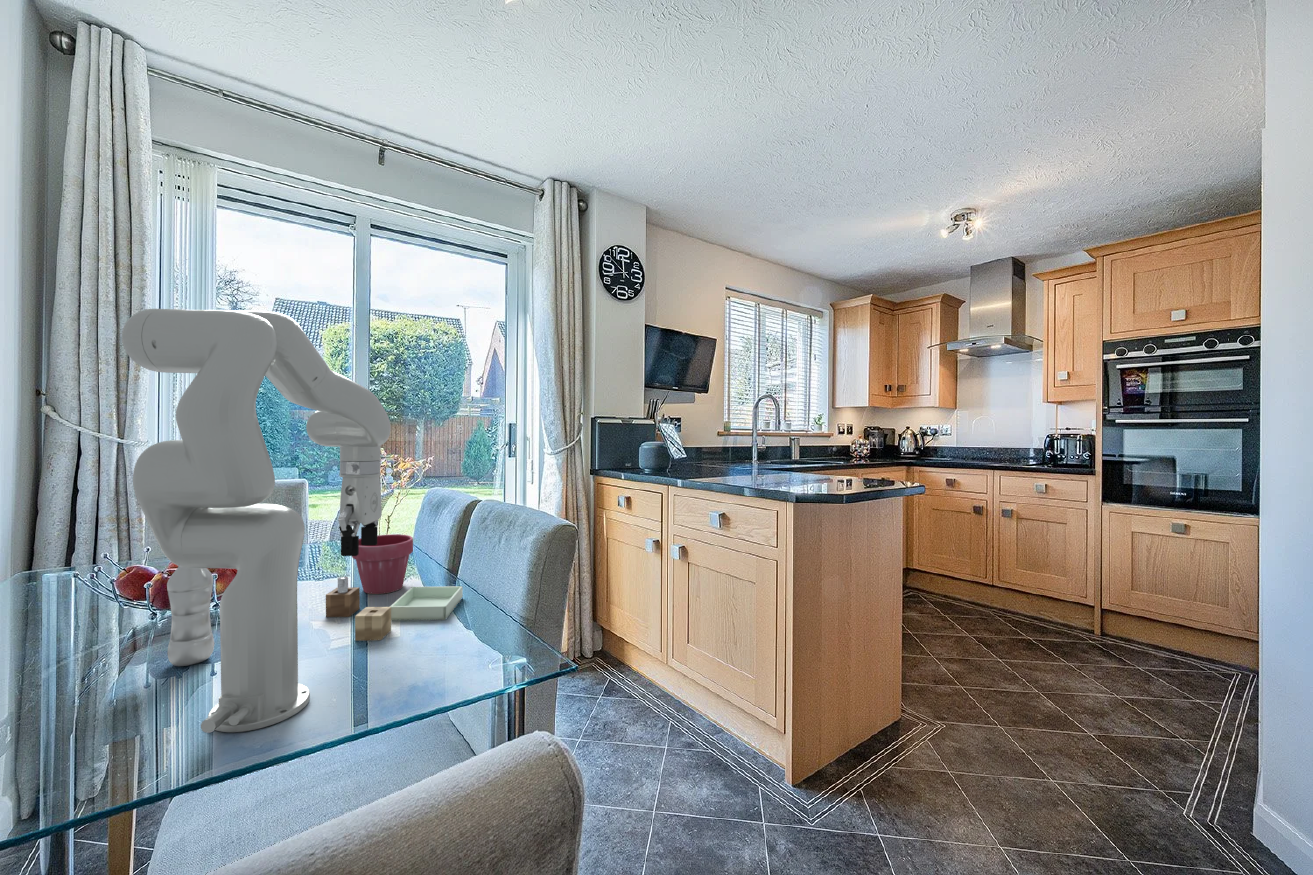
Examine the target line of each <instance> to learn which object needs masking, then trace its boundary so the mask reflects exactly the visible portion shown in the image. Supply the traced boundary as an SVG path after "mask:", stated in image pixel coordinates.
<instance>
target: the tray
mask: <svg viewBox="0 0 1313 875" xmlns="http://www.w3.org/2000/svg"><path fill="white" fill-rule="evenodd" d="M463 591H464V590H463V586H452V585H451V586H449V585H448V586H411V587H410V588H409V589H407V591H405V592H404V594H402V595H401V596H400V597H399V598H398V599H396V600H395V601H394V602H393V603H392V604H391V605H390V606H389V607H391V621H446V620H447V619H446V618H448V617H449V616H450V615H451V614H452V613H453V611H454V610H455V609H456V607H457V606H458V605H459V604H460V603H461V601H462V600H461V598H462V597H463V594H464V593H463ZM462 599H463V598H462ZM460 600H461V601H460ZM458 603H459V604H458ZM457 604H458V605H457ZM456 605H457V606H456ZM454 608H455V609H454ZM450 613H451V614H450ZM445 619H446V620H445Z"/></svg>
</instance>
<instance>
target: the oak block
mask: <svg viewBox="0 0 1313 875" xmlns="http://www.w3.org/2000/svg"><path fill="white" fill-rule="evenodd" d="M354 621H355V622H354V624H355V625H354V634H355V636H354V637H355V638H354V639H355V640H354V641H358V642H359V641H382V640H383V639H384V638H385V637H386V636H387V635H388V634H390V632H391V631H392V620H391V607H390V606H365V607H364V608H363V609H361V611H359V612H358V613H357V614H356V615H355V616H354Z"/></svg>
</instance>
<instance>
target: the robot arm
mask: <svg viewBox="0 0 1313 875" xmlns="http://www.w3.org/2000/svg"><path fill="white" fill-rule="evenodd" d="M121 332H122V333H121V342H122V343H121V344H122V346H123V349H124V350H125V352H126V353H125V354H127V355H128V357H129V358H130V359H131V360H132V361H134V363H135V364H137V365H139V366H140V367H142V368H143V369H146V370H148V371H152V372H155V373H166V374H168V373H169V374H171V373H174V374H196V375H195V377H194V378H193V380H192V381H191V382H190V383H189V384H188V387H187V388H186V389H185V391H184V392H183V393H182V395H181V397H180V399H179V401H178V403H177V407H176V409H175V421H176V425H177V429H178V431H179V434H180V437H181V439H171V440H163V441H160V442H155V443H154V444H152V445H150V446H148V447H147V448H146V449H145V450H144V451H143V452H141V454H140V455H139V456H138V458H137V460H136V462H135V465H134V468H133V475H132V487H133V492H134V494H135V497H136V499H137V502H138V505H139V506H140V508H141V511H142V513H143V516H144V517H145V519H146V522H147V524H148V525H149V528H150V529H151V532H152V533H153V536H154V539H155V540H156V542H157V545H158V546H159V548H160V550H161V551H162V553H163V555H164V556H165V557H166V559H167V560H169V561H170V562H171V563H172V564H174V565H175V566H177V567H178V566H181V567H187V568H207V569H230V570H234V569H235V570H237V571H236V572H237V573H236V574H235V576H234V577H233V579H232V580H231V582H229V585H227V586H226V588H225V590H224V591H223V593H222V595H221V598H220V600H219V601H220V602H219V624H220V625H219V627H220V628H219V632H220V633H219V634H220V636H219V637H220V684H221V685H220V692H221V693H220V695H221V696H219V697H218V703H216V704H215V705H214V706H213V707H212V708H211V709H210V710H209V712H208V714H207V718H205V719H204V720H202V722H201V723H200V730H201V731H202V732H204V733H207V734H210V733H212V732H214V731H217V732H222V733H241V732H250V731H255V730H260V729H262V728H266V727H270V726H272V725H275V724H278V723H280V722H283V721H285V720H287V719H289V718H290V717H293V716H295V715H296V714H297V713H299V712H301V711H302V710H303V709H305V707H306V706H307V705H308V704H309V702H310V698H311V692H310V688H309V687H307V686H306V685H303V684H302V683H299V652H298V651H299V647H298V646H299V641H298V640H299V637H298V636H299V635H298V634H299V633H298V627H299V626H298V578H299V577H298V575H299V565H300V560H301V559H300V558H301V554H302V549H303V543H304V541H305V540H304V538H305V523H304V520H303V518H302V516H301V514H299V513H298V512H297V511H296V510H295V509H293V508H290V507H288V506H286V505H285V506H284V505H282V504H281V505H280V504H276V503H275V504H274V503H263V502H264V501H266V500H267V499H269V497H270V496H271V495H272V494H273V493H274V488H275V484H276V477H275V471H274V467H273V464H272V461H271V458H270V455H269V451H268V447H267V445H266V441H265V439H264V435H263V432H262V429H261V426H260V422H259V420H258V415H257V410H256V409H257V405H256V403H257V398H258V393H259V391H260V388H261V385H262V383H263V380H264V378H267V379H268V380H269V382H270V383H271V384H272V385H273V386H274V388H276V389H277V391H278V392H279V393H280V394H281V396H282V397H283V398H284V399H286V400H287V401H288V402H290V403H292V404H295V405H296V406H297V405H298V406H301V407H303V408H307V409H309V410H313V411H314V412H313V413H312V414H310V416H309V417H308V419H307V421H306V433H307V436H308V438H309V439H310V440H311V441H312V442H313V443H315V444H316V445H319V446H321V447H322V446H323V447H334V448H335V447H336V448H338V447H339V477H340V478H342V479H341V487H340V488H341V489H340V503H339V516H338V519H337V520H338V523H339V527H338V528H339V536H340V556H342V557H352V556H357V555H358V554H359V539H360V538H361V545H377V536H378V526H379V519H381V517H382V515H383V514H382V513H383V510H382V490H381V482H380V481H381V480H380V476H381V454H382V453H381V449H382V448H381V447H382V446H383V445H384V444H385V443H386V442H387V441H388V439H389V437H390V435H391V429H392V428H391V423H390V422H391V421H390V418H389V415H388V413H387V412H386V409H385V408H384V407H383V405H382V403H381V401H380V400H379V399H378V397H377V396H376V395H375V394H374V393H373V392H372V391H370V390H369V389H367V388H366V387H365V386H362V385H361V384H359V383H357V382H355V381H353V380H351V379H350V378H348V377H346V376H344V375H343V374H340V373H338V372H335V371H333V370H331V369H330V367H329V365H328V364H327V363H326V361H325V360H324V358H323V357H322V356H321V354H320V353H319V352H318V350H317V348H316V347H315V345H314V344H313V342H311V340H310V339H309V337H308V335H307V334H306V333H305V331H304V330H303V329H302V327H301V326H300V325H299V323H298V322H297V321H295V320H294V319H293V318H292V317H290V316H289V315H286V314H283V313H281V312H280V313H279V312H274V311H264V310H237V309H236V310H233V309H229V310H228V309H184V308H183V309H181V308H179V309H178V308H177V309H176V308H147V309H143V310H140V311H138V312H136V313H134V314H133V315H132V316H130V317H129V318H128V319H127V321H126V322H125V323H124V326H123V328H122V331H121ZM361 525H362V526H361ZM360 526H361V527H360ZM359 529H360V537H359V535H358V531H359Z"/></svg>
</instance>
